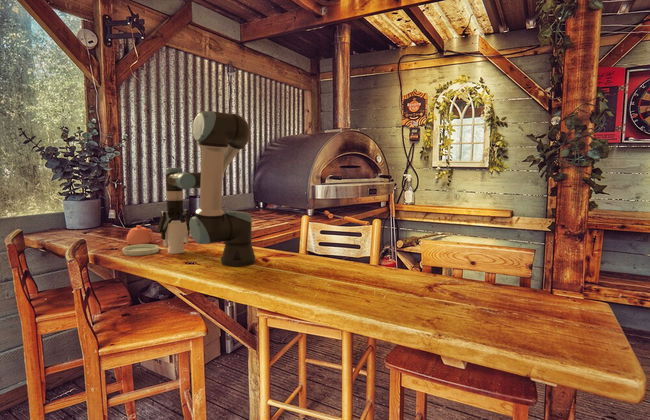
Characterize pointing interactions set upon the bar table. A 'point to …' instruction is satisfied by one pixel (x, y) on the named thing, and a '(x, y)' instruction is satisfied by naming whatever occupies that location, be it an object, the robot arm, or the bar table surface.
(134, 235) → the sugar bowl
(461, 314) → the bar table surface
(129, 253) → the dish
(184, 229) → the cup
